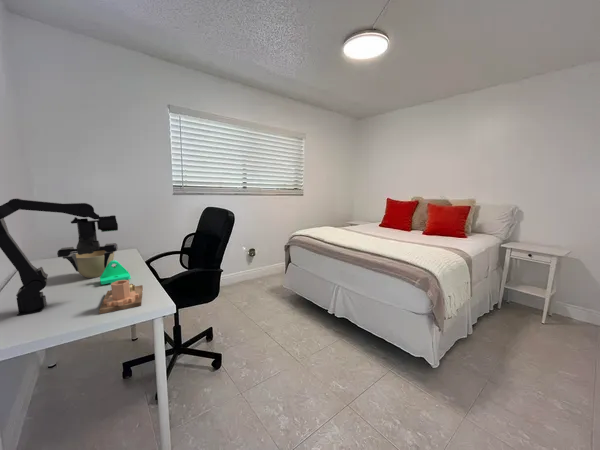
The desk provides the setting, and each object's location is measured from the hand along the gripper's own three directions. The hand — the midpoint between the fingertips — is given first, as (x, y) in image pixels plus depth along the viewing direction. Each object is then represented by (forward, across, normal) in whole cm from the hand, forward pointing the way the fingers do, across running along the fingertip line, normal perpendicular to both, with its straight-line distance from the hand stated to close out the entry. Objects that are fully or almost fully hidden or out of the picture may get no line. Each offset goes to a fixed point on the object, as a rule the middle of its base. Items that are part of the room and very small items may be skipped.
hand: (91, 269), depth 106 cm
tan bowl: (+12, -5, +35) cm, 37 cm away
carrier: (+12, +11, -10) cm, 19 cm away
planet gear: (+10, +11, -15) cm, 21 cm away
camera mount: (+12, +6, +18) cm, 23 cm away
